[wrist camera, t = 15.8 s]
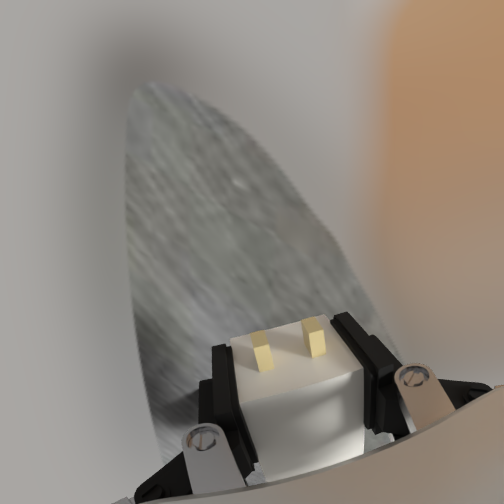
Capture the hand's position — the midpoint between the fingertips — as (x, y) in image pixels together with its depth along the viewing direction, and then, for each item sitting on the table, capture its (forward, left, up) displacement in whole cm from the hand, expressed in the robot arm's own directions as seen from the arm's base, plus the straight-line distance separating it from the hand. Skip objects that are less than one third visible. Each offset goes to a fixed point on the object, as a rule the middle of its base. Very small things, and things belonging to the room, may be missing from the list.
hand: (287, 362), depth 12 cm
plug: (-4, -2, -1) cm, 4 cm away
